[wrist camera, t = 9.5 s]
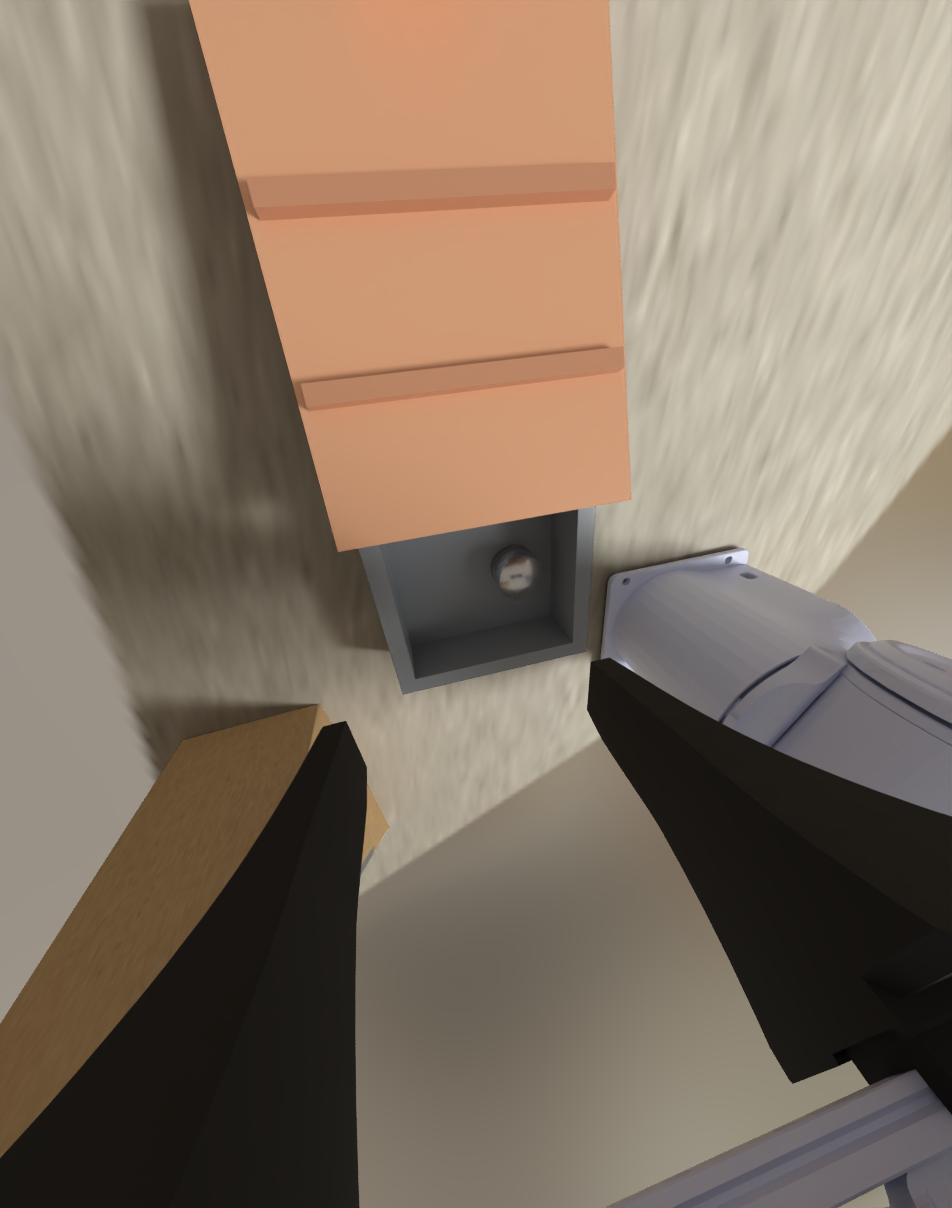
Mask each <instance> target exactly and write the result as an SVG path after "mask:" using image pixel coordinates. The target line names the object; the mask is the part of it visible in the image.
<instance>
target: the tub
mask: <svg viewBox="0 0 952 1208" xmlns="http://www.w3.org/2000/svg"><path fill="white" fill-rule="evenodd" d="M595 511H596V506H593V507H587V508H582V509H576V510H571V511H565V512H560V513H554V514H548V515H543V516H537V517H532V518H526V519H520V520H515V521H509V522H504V523H498V524H492V525H487V526H481V527H476V528H470V529H464V530H459V531H453V532H448V533H442V534H436V535H431V536H425V537H420V538H414V539H408V540H403V541H397V542H392V543H386V544H380V545H375V546H369V547H364V548H358V549H359V553H360V556H361V559H362V563H363V566H364V569H365V572H366V576H367V579H368V582H369V585H370V589H371V592H372V595H373V599H374V602H375V605H376V608H377V612H378V615H379V618H380V621H381V625H382V628H383V631H384V635H385V638H386V641H387V644H388V648H389V651H390V654H391V657H392V661H393V664H394V667H395V671H396V674H397V677H398V680H399V684H400V687H401V690H402V693H403V694H408V693H412V692H416V691H420V690H425V689H429V688H433V687H437V686H441V685H446V684H450V683H454V682H458V681H463V680H467V679H471V678H475V677H480V676H484V675H488V674H492V673H496V672H501V671H505V670H509V669H513V668H518V667H522V666H526V665H530V664H535V663H539V662H543V661H547V660H552V659H556V658H560V657H564V656H568V655H573V654H577V653H581V652H585V651H586V645H587V630H588V615H589V600H590V585H591V571H592V556H593V541H594V526H595ZM509 545H521V546H524V547H526V548H527V549H528V550H529V551H530V552H531V553H532V554H533V555H534V556H535V557H536V558H537V559H538V560H539V561H540V562H541V563H542V564H543V565H544V567H545V570H546V582H545V585H544V587H543V588H542V590H541V591H540V592H539V593H538V594H537V595H536V596H534V597H533V598H531V599H529V600H526V601H513V600H510V599H509V598H507V597H506V596H505V595H504V594H503V592H502V591H501V589H500V587H499V586H498V584H497V583H496V581H495V579H494V578H493V576H492V573H491V564H492V561H493V558H494V557H495V555H496V554H497V553H498V552H499V551H500V550H501V549H503V548H504V547H506V546H509Z"/></svg>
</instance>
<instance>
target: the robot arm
mask: <svg viewBox="0 0 952 1208" xmlns="http://www.w3.org/2000/svg"><path fill="white" fill-rule="evenodd" d="M748 556H749V551H748V550H746V549H744V548H737V549H732V550H727V551H723V552H718V553H713V554H708V555H703V556H699V557H694V558H689V559H684V560H679V561H674V562H670V563H665V564H660V565H655V566H650V567H646V568H641V569H636V570H631V571H626V572H622V573H617V574H614V575H612V576H611V577H610V579H609V581H608V587H607V597H606V608H605V618H604V628H603V639H602V649H601V660H597V661H593V662H591V666H590V679H589V692H588V705H587V710H588V712H589V715H590V717H591V719H592V721H593V723H594V725H595V727H596V729H597V731H598V732H599V734H600V736H601V738H602V740H603V742H604V743H605V745H606V746H607V748H608V750H609V751H610V753H611V754H612V756H613V757H614V759H615V760H616V761H617V763H618V765H619V766H620V768H621V769H622V771H623V772H624V774H625V775H626V777H627V778H628V780H629V781H630V783H631V784H632V786H633V787H634V789H635V790H636V792H637V793H638V795H639V796H640V798H641V799H642V801H643V802H644V803H645V805H646V807H647V808H648V810H649V811H650V813H651V814H652V816H653V817H654V819H655V821H656V822H657V824H658V825H659V827H660V829H661V830H662V832H663V834H664V836H665V838H666V839H667V841H668V843H669V845H670V847H671V849H672V850H673V852H674V854H675V856H676V858H677V859H678V861H679V863H680V865H681V867H682V868H683V870H684V872H685V874H686V876H687V878H688V880H689V882H690V884H691V886H692V888H693V889H694V891H695V893H696V895H697V897H698V899H699V901H700V903H701V904H702V907H703V908H704V910H705V912H706V914H707V916H708V918H709V920H710V922H711V924H712V926H713V928H714V930H715V932H716V934H717V936H718V938H719V940H720V942H721V944H722V946H723V948H724V950H725V952H726V954H727V956H728V958H729V960H730V962H731V965H732V967H733V969H734V971H735V973H736V975H737V977H738V979H739V982H740V984H741V986H742V988H743V990H744V992H745V994H746V996H747V998H748V1000H749V1003H750V1005H751V1007H752V1009H753V1011H754V1013H755V1015H756V1017H757V1020H758V1022H759V1024H760V1026H761V1029H762V1031H763V1033H764V1035H765V1038H766V1039H767V1042H768V1044H769V1046H770V1048H771V1050H772V1052H773V1053H774V1055H775V1057H776V1059H777V1060H778V1062H779V1063H780V1065H781V1067H782V1069H783V1070H784V1072H785V1074H786V1075H787V1077H788V1079H789V1080H790V1081H791V1082H792V1083H796V1082H799V1081H801V1080H804V1079H806V1078H809V1077H811V1076H814V1075H816V1074H819V1073H821V1072H824V1071H827V1070H829V1069H832V1068H835V1067H837V1066H840V1065H842V1064H844V1063H846V1062H849V1061H851V1060H852V1061H853V1063H854V1064H855V1065H856V1067H857V1068H858V1070H859V1071H860V1072H861V1074H862V1075H863V1077H864V1078H865V1080H866V1081H867V1082H868V1084H869V1085H870V1086H867V1087H865V1088H863V1089H861V1090H859V1091H857V1092H855V1093H852V1094H850V1095H848V1096H846V1097H844V1098H842V1099H839V1100H837V1101H835V1102H833V1103H830V1104H828V1105H826V1106H824V1107H822V1108H820V1109H817V1110H815V1111H813V1112H811V1113H809V1114H807V1115H804V1116H803V1117H800V1118H798V1119H796V1120H793V1121H791V1122H789V1123H787V1124H785V1125H783V1126H781V1127H778V1128H776V1129H774V1130H772V1131H770V1132H768V1133H765V1134H763V1135H761V1136H759V1137H757V1138H754V1139H752V1140H750V1141H748V1142H746V1143H744V1144H741V1145H739V1146H737V1147H735V1148H733V1149H730V1150H728V1151H726V1152H724V1153H722V1154H720V1155H717V1156H715V1157H713V1158H711V1159H709V1160H707V1161H704V1162H702V1163H700V1164H698V1165H696V1166H694V1167H691V1168H689V1169H687V1170H685V1171H683V1172H680V1173H678V1174H676V1175H674V1176H672V1177H670V1178H667V1179H665V1180H663V1181H661V1182H659V1183H657V1184H654V1185H652V1186H650V1187H648V1188H646V1189H644V1190H641V1191H639V1192H637V1193H635V1194H633V1195H630V1196H629V1197H626V1198H624V1199H622V1200H620V1201H617V1202H615V1203H613V1204H611V1205H609V1206H607V1207H604V1208H838V1207H840V1206H842V1205H844V1204H845V1203H848V1202H850V1201H852V1200H854V1199H856V1198H857V1197H859V1196H861V1195H863V1194H865V1193H867V1192H869V1191H871V1190H873V1189H875V1188H877V1187H879V1186H881V1185H883V1184H884V1186H885V1190H886V1193H887V1196H888V1199H889V1204H890V1206H889V1207H887V1208H952V660H951V659H949V658H946V657H943V656H941V655H938V654H935V653H933V652H930V651H927V650H924V649H921V648H918V647H915V646H912V645H909V644H905V643H902V642H898V641H894V640H882V641H877V640H876V639H875V637H874V635H873V634H872V633H871V631H870V630H869V629H868V628H867V626H866V625H865V624H864V623H863V622H862V621H861V620H860V619H859V618H857V617H856V616H855V615H854V614H853V613H851V612H850V611H848V610H847V609H845V608H844V607H842V606H840V605H837V604H835V603H833V602H831V601H829V600H827V599H824V598H822V597H819V596H817V595H815V594H813V593H811V592H808V591H806V590H804V589H801V588H799V587H797V586H795V585H792V584H790V583H788V582H785V581H783V580H781V579H779V578H776V577H774V576H772V575H769V574H767V573H765V572H763V571H760V570H758V569H756V568H753V567H751V566H749V565H746V563H747V560H748ZM625 578H626V581H625V582H623V580H624V579H625ZM622 582H623V583H622ZM631 670H634V671H635V673H634V672H633V671H631ZM366 813H367V767H366V764H365V762H364V760H363V758H362V755H361V753H360V751H359V749H358V746H357V744H356V742H355V740H354V738H353V735H352V733H351V731H350V729H349V726H348V724H347V722H346V721H344V722H339V723H335V724H331V725H327V726H323V727H322V729H321V730H320V732H319V734H318V736H317V737H316V739H315V741H314V743H313V745H312V747H311V748H310V750H309V752H308V754H307V756H306V757H305V759H304V761H303V763H302V765H301V766H300V768H299V770H298V772H297V773H296V775H295V777H294V779H293V781H292V782H291V784H290V786H289V787H288V789H287V791H286V792H285V794H284V796H283V797H282V799H281V801H280V802H279V804H278V806H277V808H276V809H275V811H274V813H273V814H272V816H271V817H270V819H269V821H268V822H267V824H266V825H265V827H264V828H263V830H262V831H261V833H260V835H259V836H258V838H257V839H256V841H255V842H254V844H253V845H252V847H251V849H250V850H249V852H248V853H247V855H246V856H245V858H244V859H243V861H242V862H241V864H240V865H239V867H238V868H237V869H236V871H235V872H234V874H233V875H232V877H231V878H230V880H229V881H228V882H227V884H226V885H225V887H224V888H223V890H222V891H221V892H220V894H219V895H218V896H217V898H216V899H215V901H214V902H213V903H212V905H211V906H210V908H209V909H208V910H207V912H206V913H205V914H204V916H203V917H202V918H201V920H200V921H199V922H198V924H197V925H196V926H195V928H194V929H193V930H192V931H191V933H190V934H189V935H188V937H187V938H186V939H185V941H184V942H183V943H182V944H181V946H180V947H179V948H178V950H177V951H176V952H175V954H174V955H173V956H172V958H171V959H170V960H169V961H168V963H167V964H166V965H165V967H164V968H163V969H162V970H161V972H160V973H159V974H158V975H157V977H156V978H155V979H154V980H153V982H152V983H151V984H150V985H149V987H148V988H147V989H146V990H145V991H144V993H143V994H142V995H141V996H140V998H139V999H138V1000H137V1001H136V1002H135V1004H134V1005H133V1006H132V1007H131V1008H130V1009H129V1011H128V1012H127V1013H126V1014H125V1015H124V1017H123V1018H122V1019H121V1020H120V1021H119V1023H118V1024H117V1025H116V1026H115V1027H114V1028H113V1030H112V1031H111V1032H110V1033H109V1034H108V1036H107V1037H106V1038H105V1039H104V1040H103V1042H102V1043H101V1044H100V1045H99V1046H98V1047H97V1049H96V1050H95V1051H94V1052H93V1053H92V1055H91V1056H90V1057H89V1058H88V1059H87V1060H86V1062H85V1063H84V1064H83V1065H82V1066H81V1068H80V1069H79V1070H78V1071H77V1072H76V1074H75V1075H74V1076H73V1077H72V1078H71V1079H70V1080H69V1082H68V1083H67V1084H66V1085H65V1086H64V1087H63V1088H62V1090H61V1091H60V1092H59V1093H58V1094H57V1095H56V1097H55V1098H54V1099H53V1100H52V1101H51V1102H50V1103H49V1105H48V1106H47V1107H46V1108H45V1109H44V1110H43V1111H42V1112H41V1113H40V1115H39V1116H38V1117H37V1118H36V1119H35V1120H34V1121H33V1122H32V1123H31V1125H30V1126H29V1127H28V1128H27V1129H26V1130H25V1131H24V1132H23V1133H22V1134H21V1136H20V1137H19V1138H18V1139H17V1140H16V1141H15V1142H14V1143H13V1144H12V1145H11V1147H10V1148H9V1149H8V1150H7V1151H6V1152H5V1153H4V1154H3V1155H2V1157H1V1158H0V1208H359V1186H358V1158H357V1157H358V1155H357V1118H356V1060H355V1059H356V1058H355V1057H356V1056H355V971H356V921H357V907H358V895H359V885H360V875H361V865H362V855H363V845H364V835H365V824H366Z"/></svg>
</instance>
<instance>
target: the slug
mask: <svg viewBox="0 0 952 1208" xmlns="http://www.w3.org/2000/svg"><path fill="white" fill-rule="evenodd" d="M491 573H492V576H493V578H494V579H495V581H496V583H497V584H498V586H499V587H500V589H501V591H502V592H503V594H504V595H505V596H506V597H507V598H509V599H510V600H513V601H526V600H529V599H531V598H533V597H534V596H536V595H537V594H538V593H539V592H540V591H541V590H542V588H543V587H544V585H545V582H546V570H545V567H544V565H543V564H542V563H541V562H540V561H539V560H538V559H537V558H536V557H535V556H534V555H533V554H532V553H531V552H530V551H529V550H528V549H527V548H526V547H524V546H521V545H509V546H506V547H504V548H503V549H501V550H500V551H499V552H498V553H497V554H496V555H495V557H494V558H493V561H492V564H491Z"/></svg>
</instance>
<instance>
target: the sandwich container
mask: <svg viewBox="0 0 952 1208" xmlns="http://www.w3.org/2000/svg"><path fill="white" fill-rule="evenodd" d="M331 724H332V723H331V721H330V720H329V718H328V716H327V715H326V713H325V712H324V710H323V709H322V707H321V705H320V704H316V705H312V706H309V707H305V708H301V709H297V710H294V711H290V712H286V713H282V714H279V715H275V716H271V717H267V718H264V719H260V720H256V721H252V722H249V723H245V724H241V725H237V726H234V727H230V728H226V729H223V730H219V731H215V732H212V733H208V734H204V735H201V736H197V737H193V738H190V739H186V740H182V742H181V743H180V745H179V747H178V748H177V750H176V751H175V753H174V754H173V756H172V757H171V759H170V760H169V762H168V764H167V765H166V767H165V768H164V770H163V771H162V773H161V774H160V776H159V778H158V779H157V781H156V782H155V784H154V785H153V787H152V788H151V790H150V792H149V793H148V795H147V796H146V798H145V799H144V801H143V803H142V804H141V806H140V807H139V809H138V810H137V812H136V813H135V815H134V816H133V818H132V820H131V821H130V823H129V824H128V826H127V828H126V829H125V831H124V832H123V834H122V835H121V837H120V838H119V840H118V842H117V843H116V844H115V846H114V848H113V849H112V851H111V852H110V854H109V856H108V857H107V858H106V860H105V862H104V863H103V865H102V866H101V868H100V869H99V871H98V872H97V874H96V876H95V877H94V879H93V880H92V882H91V883H90V885H89V887H88V888H87V890H86V891H85V893H84V894H83V896H82V897H81V899H80V901H79V902H78V904H77V905H76V907H75V908H74V910H73V911H72V913H71V915H70V916H69V918H68V919H67V921H66V922H65V924H64V926H63V927H62V929H61V930H60V932H59V933H58V935H57V936H56V938H55V940H54V941H53V943H52V944H51V946H50V947H49V949H48V950H47V952H46V954H45V955H44V957H43V958H42V960H41V961H40V963H39V964H38V966H37V968H36V969H35V971H34V972H33V974H32V975H31V977H30V978H29V981H28V982H27V983H26V985H25V986H24V988H23V989H22V991H21V993H20V994H19V996H18V998H17V999H16V1000H15V1002H14V1003H13V1005H12V1007H11V1008H10V1010H9V1011H8V1013H7V1014H6V1016H5V1018H4V1019H3V1021H2V1022H1V1024H0V1158H1V1157H2V1155H3V1154H4V1153H5V1152H6V1151H7V1150H8V1149H9V1148H10V1147H11V1145H12V1144H13V1143H14V1142H15V1141H16V1140H17V1139H18V1138H19V1137H20V1136H21V1134H22V1133H23V1132H24V1131H25V1130H26V1129H27V1128H28V1127H29V1126H30V1125H31V1123H32V1122H33V1121H34V1120H35V1119H36V1118H37V1117H38V1116H39V1115H40V1113H41V1112H42V1111H43V1110H44V1109H45V1108H46V1107H47V1106H48V1105H49V1103H50V1102H51V1101H52V1100H53V1099H54V1098H55V1097H56V1095H57V1094H58V1093H59V1092H60V1091H61V1090H62V1088H63V1087H64V1086H65V1085H66V1084H67V1083H68V1082H69V1080H70V1079H71V1078H72V1077H73V1076H74V1075H75V1074H76V1072H77V1071H78V1070H79V1069H80V1068H81V1066H82V1065H83V1064H84V1063H85V1062H86V1060H87V1059H88V1058H89V1057H90V1056H91V1055H92V1053H93V1052H94V1051H95V1050H96V1049H97V1047H98V1046H99V1045H100V1044H101V1043H102V1042H103V1040H104V1039H105V1038H106V1037H107V1036H108V1034H109V1033H110V1032H111V1031H112V1030H113V1028H114V1027H115V1026H116V1025H117V1024H118V1023H119V1021H120V1020H121V1019H122V1018H123V1017H124V1015H125V1014H126V1013H127V1012H128V1011H129V1009H130V1008H131V1007H132V1006H133V1005H134V1004H135V1002H136V1001H137V1000H138V999H139V998H140V996H141V995H142V994H143V993H144V991H145V990H146V989H147V988H148V987H149V985H150V984H151V983H152V982H153V980H154V979H155V978H156V977H157V975H158V974H159V973H160V972H161V970H162V969H163V968H164V967H165V965H166V964H167V963H168V961H169V960H170V959H171V958H172V956H173V955H174V954H175V952H176V951H177V950H178V948H179V947H180V946H181V944H182V943H183V942H184V941H185V939H186V938H187V937H188V935H189V934H190V933H191V931H192V930H193V929H194V928H195V926H196V925H197V924H198V922H199V921H200V920H201V918H202V917H203V916H204V914H205V913H206V912H207V910H208V909H209V908H210V906H211V905H212V903H213V902H214V901H215V899H216V898H217V896H218V895H219V894H220V892H221V891H222V890H223V888H224V887H225V885H226V884H227V882H228V881H229V880H230V878H231V877H232V875H233V874H234V872H235V871H236V869H237V868H238V867H239V865H240V864H241V862H242V861H243V859H244V858H245V856H246V855H247V853H248V852H249V850H250V849H251V847H252V845H253V844H254V842H255V841H256V839H257V838H258V836H259V835H260V833H261V831H262V830H263V828H264V827H265V825H266V824H267V822H268V821H269V819H270V817H271V816H272V814H273V813H274V811H275V809H276V808H277V806H278V804H279V802H280V801H281V799H282V797H283V796H284V794H285V792H286V791H287V789H288V787H289V786H290V784H291V782H292V781H293V779H294V777H295V775H296V773H297V772H298V770H299V768H300V766H301V765H302V763H303V761H304V759H305V757H306V756H307V754H308V752H309V750H310V748H311V747H312V745H313V743H314V741H315V739H316V737H317V736H318V734H319V732H320V730H321V729H322V727H323V726H327V725H331ZM388 829H389V826H388V824H387V822H386V820H385V818H384V816H383V814H382V812H381V810H380V808H379V806H378V804H377V802H376V800H375V798H374V796H373V794H372V792H371V790H370V788H369V786H368V784H367V813H366V824H365V835H364V845H363V855H362V865H361V874H362V872H363V871H364V869H365V867H366V865H367V864H368V862H369V860H370V859H371V857H372V855H373V853H374V852H375V850H376V848H377V847H378V845H379V843H380V842H381V840H382V839H383V837H384V835H385V834H386V832H387V831H388ZM360 876H361V875H360Z"/></svg>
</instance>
